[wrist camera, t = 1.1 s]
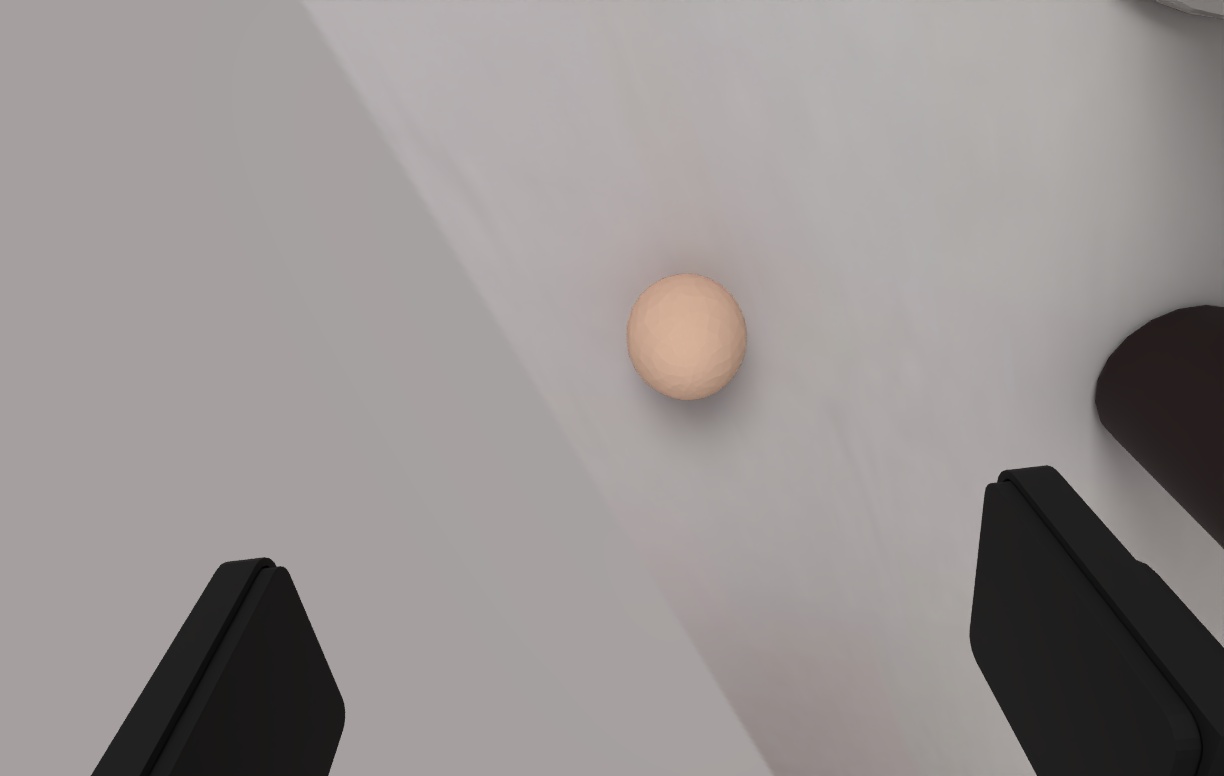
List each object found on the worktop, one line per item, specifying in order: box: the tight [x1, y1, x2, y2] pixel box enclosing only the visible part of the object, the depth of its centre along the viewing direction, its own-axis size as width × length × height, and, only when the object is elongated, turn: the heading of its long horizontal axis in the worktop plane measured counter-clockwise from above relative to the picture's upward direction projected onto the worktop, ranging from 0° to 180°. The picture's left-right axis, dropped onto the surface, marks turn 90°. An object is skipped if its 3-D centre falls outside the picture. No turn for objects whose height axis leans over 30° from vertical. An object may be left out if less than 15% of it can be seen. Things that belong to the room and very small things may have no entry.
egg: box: [627, 274, 747, 400], centre depth 30 cm, size 4×4×6 cm
